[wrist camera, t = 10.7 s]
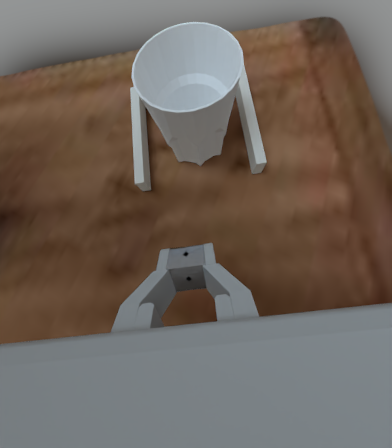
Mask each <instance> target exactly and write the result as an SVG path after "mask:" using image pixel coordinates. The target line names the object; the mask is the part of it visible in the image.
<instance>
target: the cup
mask: <svg viewBox="0 0 392 448" xmlns="http://www.w3.org/2000/svg"><path fill="white" fill-rule="evenodd" d="M243 64H244V62H243V51H242V49H241V47H240V45H239V42H238V41H237V40H236V39H235V37H234V36H233V35H232V34H231V33H230V32H228V31H226V30H225V29H223V28H221V27H219V26H216V25H212V24H209V23H202V22H190V23H182V24H178V25H175V26H172V27H169V28H166V29H165V30H163V31H161V32H159V33H157V34H156V35H154V36H153V37H152V38H151V39H149V40H148V41H147V42H146V43H145V44H144V45H143V47H142V48H141V49H140V51H139V52H138V53H137V55H136V58H135V60H134V63H133V66H132V80H133V85H134V88H135V90H136V91H137V93H138V95H139V96H140V98H141V100H142V101H143V103H144V105H145V106H146V108H147V110H148V111H149V113H150V115H151V116H152V118H153V120H154V121H155V123H156V124H157V126H158V127H159V129H160V131H161V133H162V135H163V137H164V139H165V141H166V142H167V144H168V146H170V147H171V148H172V150H173V152H174V154H175V156H176V158H177V160H178V162H182V161H188V162H193V163H197V164H198V165H199V166H201V165H202V164H203V163H204V161H206V160H208V159H209V158H211V157H213V156H215V155H221V150H222V145H223V139H224V136H225V135H226V132H227V127H228V121H229V117H230V114H231V110H232V106H233V103H234V99H235V95H236V91H237V87H238V84H239V80H240V76H241V72H242V68H243Z"/></svg>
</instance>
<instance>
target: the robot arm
mask: <svg viewBox="0 0 392 448" xmlns="http://www.w3.org/2000/svg"><path fill="white" fill-rule="evenodd" d="M205 288H207V290H208V291H209V293H210V294H211V295H212V297H213V298H214V299H215V305H216V314H217V321H215V322H206V323H196V324H187V325H177V326H168V327H165V326H164V324H163V322H162V320H161V317H162V316H163V314H164V312H165V311H166V309H167V308H168V306H169V304H170V303H171V301H172V299H173V298H174V296H175V295H176V292H179V291H186V290H194V289H205ZM0 448H392V303H385V304H375V305H366V306H356V307H347V308H338V309H328V310H319V311H309V312H300V313H290V314H281V315H271V316H262V317H259V315H258V312H257V309H256V306H255V303H254V300H253V297H252V294H251V291H250V290H249V289H248V288H247V287H245V286H244V285H243V284H242V283H241V282H240V281H239V280H237V279H236V278H235V277H234V276H233V275H232V274H230V273H229V272H228V271H227V270H226V269H225V268H224V267H222V266H221V265H220V264H219V263H218V264H216V260H215V254H214V249H213V244H212V243H207V244H204V245H203V244H202V245H195V246H187V247H178V248H170V249H161V251H160V254H159V259H158V263H157V268H156V271H153V272H152V273H151V274H150V275H149V276H148V277H147V278H146V279H145V281H144V282H143V283H142V284H141V285H140V286H139V287H138V288H137V289H136V290H135V291H134V292H133V293H132V294H131V295H130V296H129V297H128V298H127V299H126V300H125V301H124V302H123V303H122V304H121V305H120V308H119V311H118V314H117V316H116V319H115V322H114V325H113V328H112V330H111V333H102V334H92V335H83V336H73V337H64V338H54V339H45V340H35V341H26V342H16V343H7V344H0Z"/></svg>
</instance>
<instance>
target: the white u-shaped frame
mask: <svg viewBox="0 0 392 448" xmlns="http://www.w3.org/2000/svg"><path fill="white" fill-rule="evenodd" d="M130 91H131V112H132V134H133V155H134V177H135V184H136V185H137V186H138V187H139V188H140V189H141V190H142V191H148V190H151V182H150V167H149V152H148V138H147V123H146V106H145V105H144V103H143V101H142V100H141V98H140V96H139V95H138V93H137V91H136V90H135V88H134V87H132V88H130ZM236 100H237V105H238V110H239V114H240V119H241V124H242V129H243V134H244V138H245V143H246V148H247V153H248V158H249V162H250V167H251V172H252V174H257V173H261V172H262V170H263V168H264V167H265V165H266V163H267V161H266V157H265V153H264V148H263V144H262V140H261V136H260V131H259V127H258V123H257V118H256V114H255V110H254V106H253V101H252V97H251V93H250V88H249V84H248V80H247V76H246V71H245V67H244V65H243V68H242V72H241V76H240V80H239V84H238V87H237V91H236Z"/></svg>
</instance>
